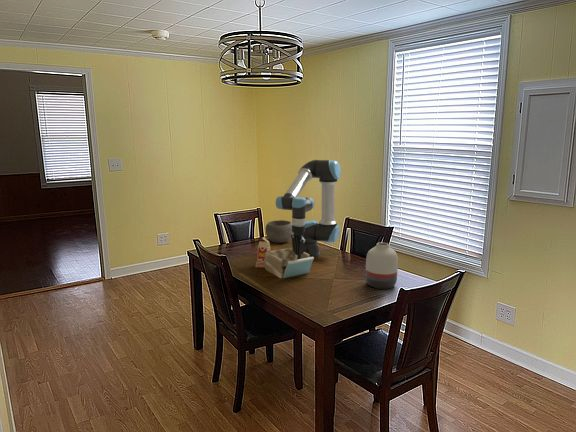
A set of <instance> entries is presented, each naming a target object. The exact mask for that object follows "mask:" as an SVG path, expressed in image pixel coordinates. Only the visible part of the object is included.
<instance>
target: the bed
mask: <svg viewBox="0 0 576 432" xmlns="http://www.w3.org/2000/svg"><path fill="white" fill-rule="evenodd" d="M308 257H310V254H307V253H305V252H303V254H301V259H303V258H308ZM293 260H295V252H293V247H287V248H282V249H275V250H271V251H269V252H265V268H264V269H265V270H266V271H267V272H268V273H271V274H272V275H274V276H276V277H278V278H280V279H283V278H282V277H283V267H286V266H287V263H288V261H293Z"/></svg>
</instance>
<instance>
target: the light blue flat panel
mask: <svg viewBox="0 0 576 432" xmlns="http://www.w3.org/2000/svg"><path fill="white" fill-rule="evenodd" d="M314 259H315V257H308V258H303V259H298V260H293V261H288V263H287V266H285V270H284V274H283V275H282V278H281V279H287V278H293V277H297V276H302V275H307V274H310V271H311V267H312V264H313V262H314Z"/></svg>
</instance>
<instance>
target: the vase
mask: <svg viewBox="0 0 576 432" xmlns="http://www.w3.org/2000/svg"><path fill="white" fill-rule="evenodd" d="M398 265H399V258H398V254H397V252H396V251H395V250H394V249H393V248H392V247H391V246H390V245H389V243H388V242H383V241H381V242H377V243H376V245H375V246H374V247H372V248H371V249H369V250H368V252H367V254H366V258H365V282H366V283H367V285H368V286H370V287H372V288H373V287H374V289H379V290H388V289H391V288H393V287H395V285H396V283H397V280H398V279H397V278H398V269H399V266H398Z"/></svg>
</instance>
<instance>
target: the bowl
mask: <svg viewBox="0 0 576 432" xmlns="http://www.w3.org/2000/svg"><path fill="white" fill-rule="evenodd" d="M265 235H266V237H267V239H268V240H270V241H271V242H272V243H274V244H275V243H276V244H283V243H287V242H288V241H289V240H290V239H291V235H293V232H292V221H288V220H286V219H285V220H284V219H283V220H281V219H280V220H278V219H277V220H271V221H268V222H267V223H266V225H265Z"/></svg>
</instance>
